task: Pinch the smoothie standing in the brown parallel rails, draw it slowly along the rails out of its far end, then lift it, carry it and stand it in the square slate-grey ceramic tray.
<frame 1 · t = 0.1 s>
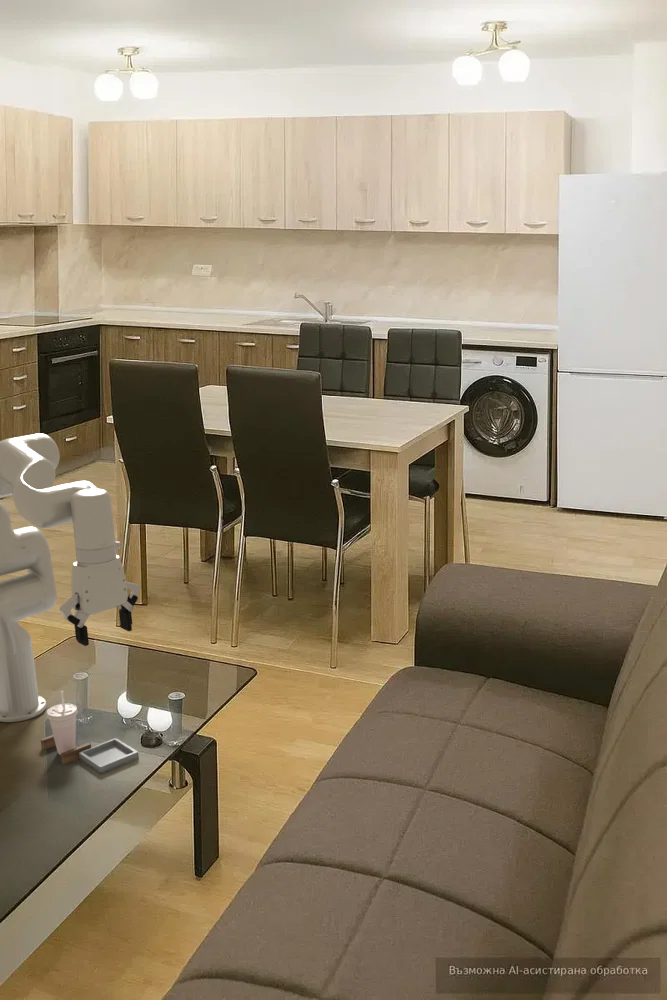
hand: (105, 636, 216), 31 cm above the table, fingers open, 9 cm apart
tray: (109, 758, 232), on the table
brown parallel rails: (66, 750, 236), on the table
smoothie: (66, 751, 236), on the table
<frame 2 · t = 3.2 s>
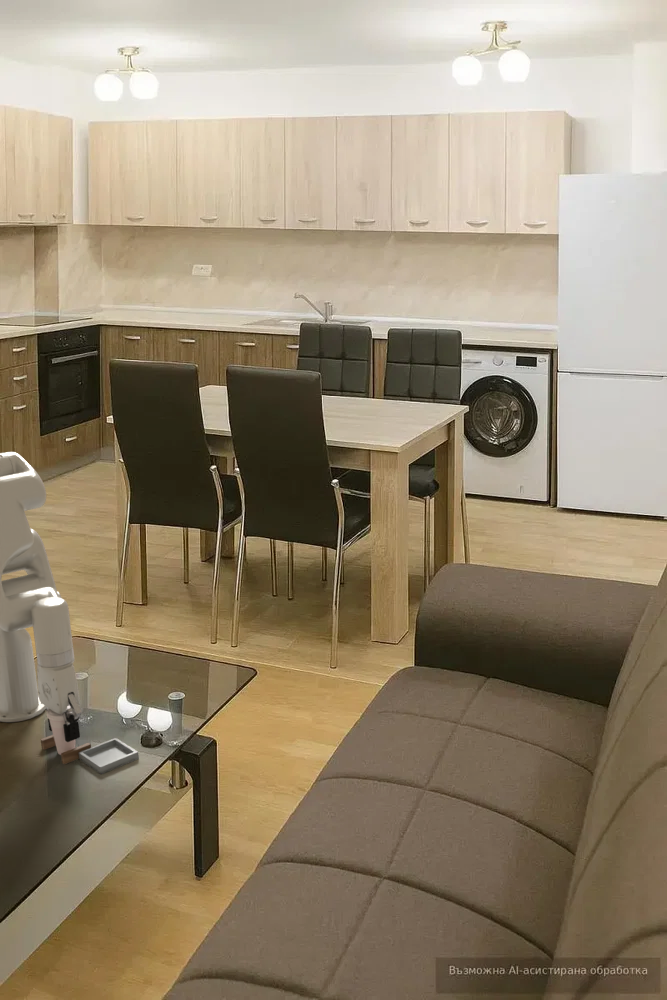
hand: (64, 733, 235), 4 cm above the table, fingers closed on smoothie, 6 cm apart
smoothie: (66, 751, 236), on the table, touching gripper
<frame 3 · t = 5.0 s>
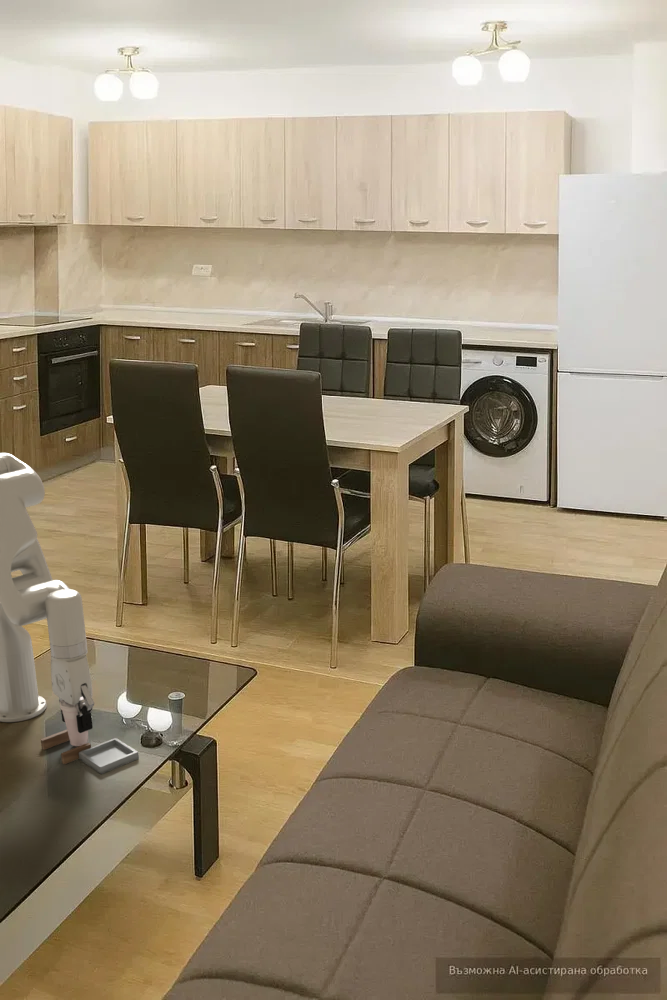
hand: (77, 724, 237), 5 cm above the table, fingers closed on smoothie, 6 cm apart
smoothie: (79, 742, 238), point 1 cm above the table, touching gripper
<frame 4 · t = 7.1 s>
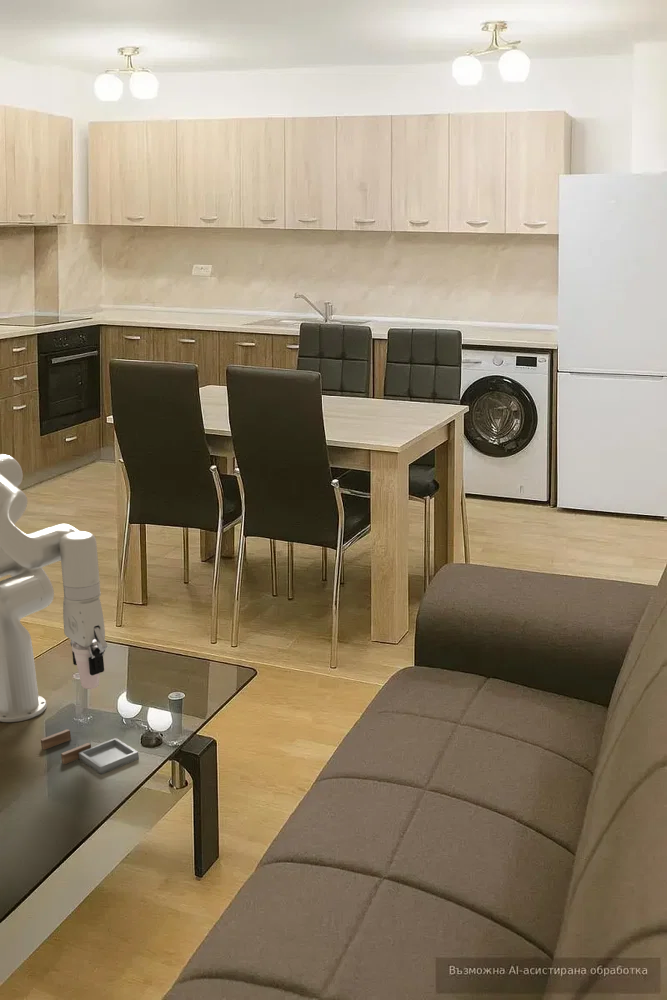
hand: (88, 667, 237), 17 cm above the table, fingers closed on smoothie, 6 cm apart
smoothie: (90, 685, 239), point 12 cm above the table, touching gripper
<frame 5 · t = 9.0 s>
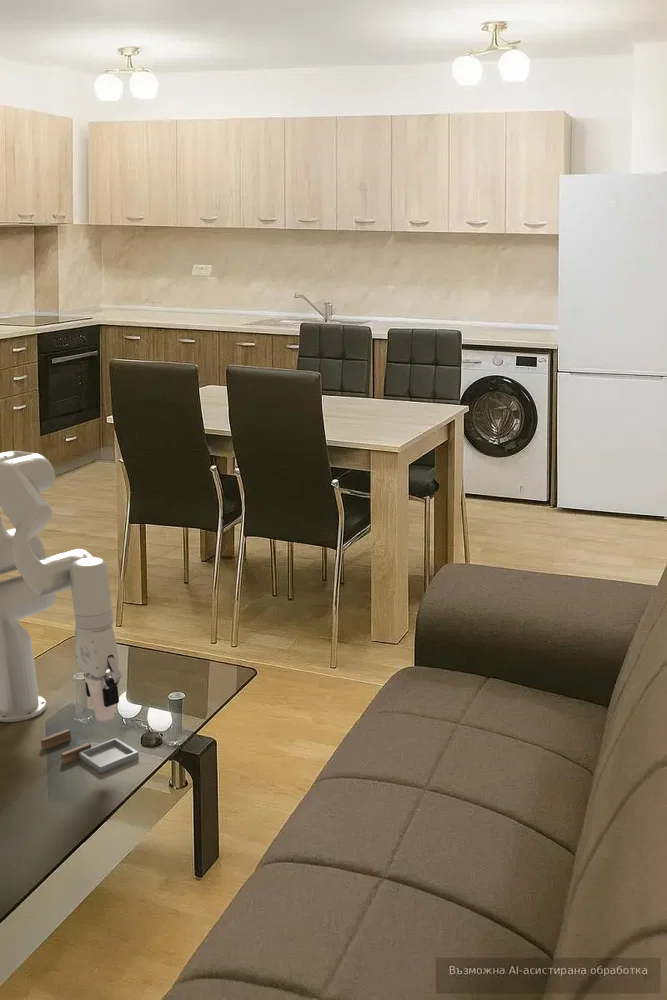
hand: (102, 698, 228), 14 cm above the table, fingers closed on smoothie, 6 cm apart
smoothie: (105, 717, 230), point 10 cm above the table, touching gripper
when the fingers open (6 cm above the table, at t = 10.8 s): smoothie drops 1 cm, resting on tray.
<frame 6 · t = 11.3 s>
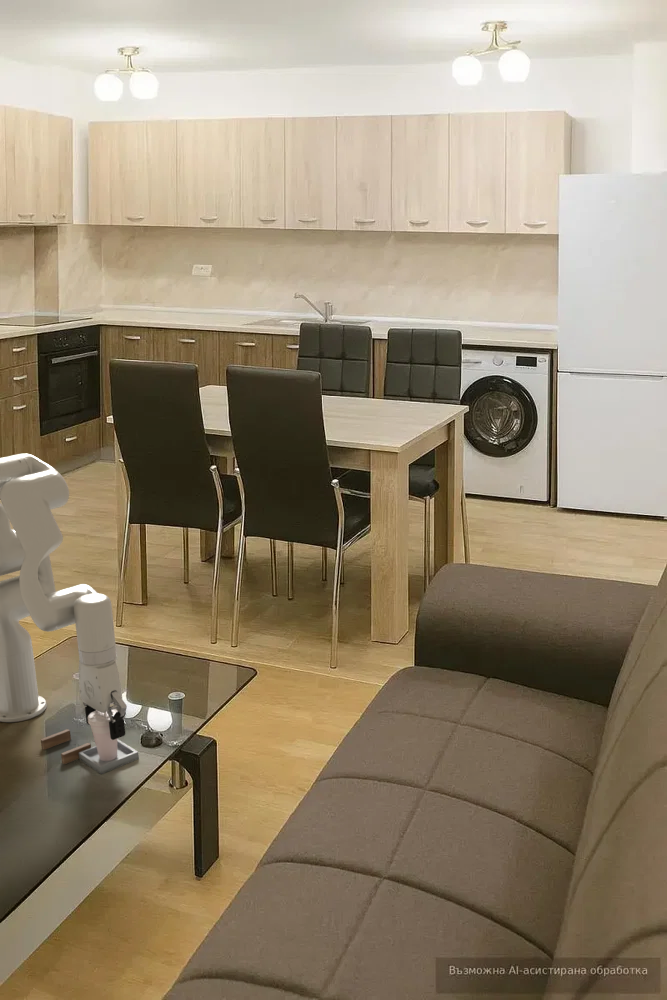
hand: (105, 729, 230), 7 cm above the table, fingers open, 9 cm apart
smoothie: (108, 757, 232), resting on tray
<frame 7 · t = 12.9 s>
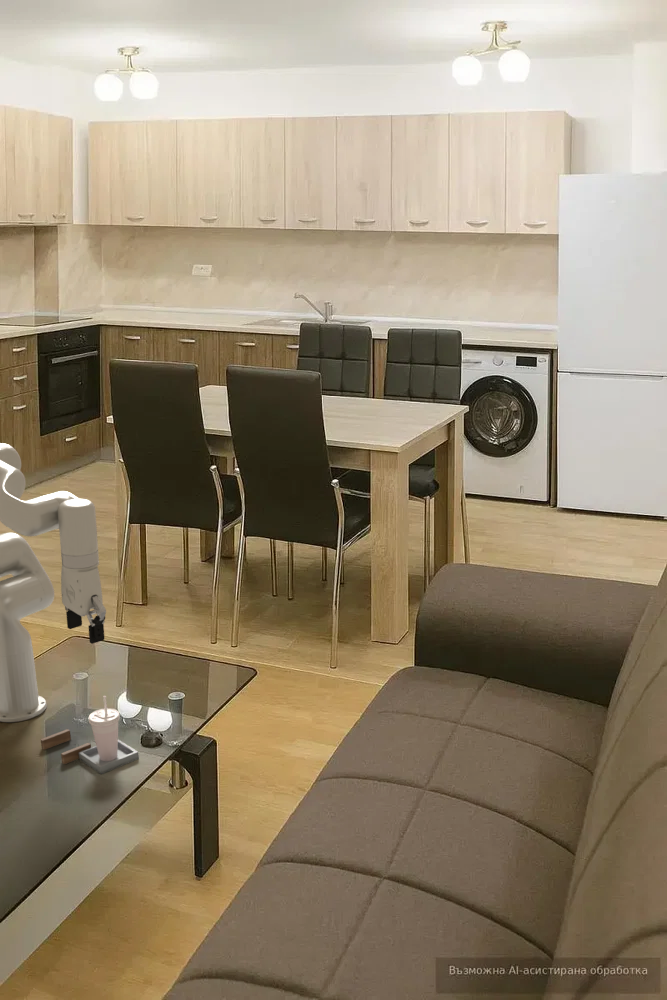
hand: (85, 634, 234), 25 cm above the table, fingers open, 9 cm apart
nothing on the table moved.
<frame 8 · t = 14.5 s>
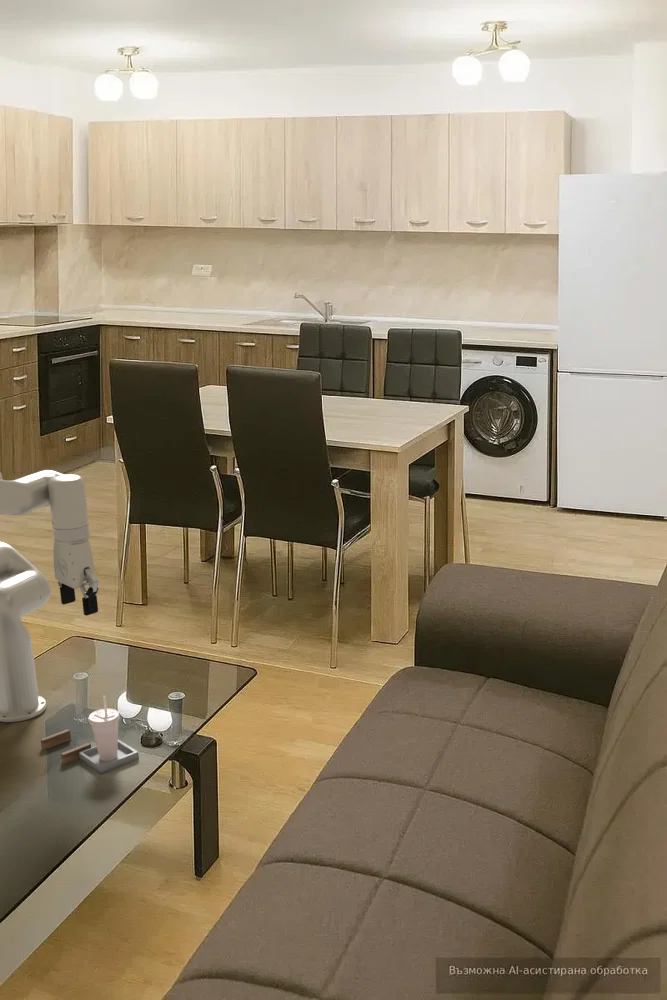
hand: (79, 608, 239), 28 cm above the table, fingers open, 9 cm apart
nothing on the table moved.
at the end: smoothie 0.1 cm from the tray (horizontally); smoothie tilted 0°; smoothie touching tray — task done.
